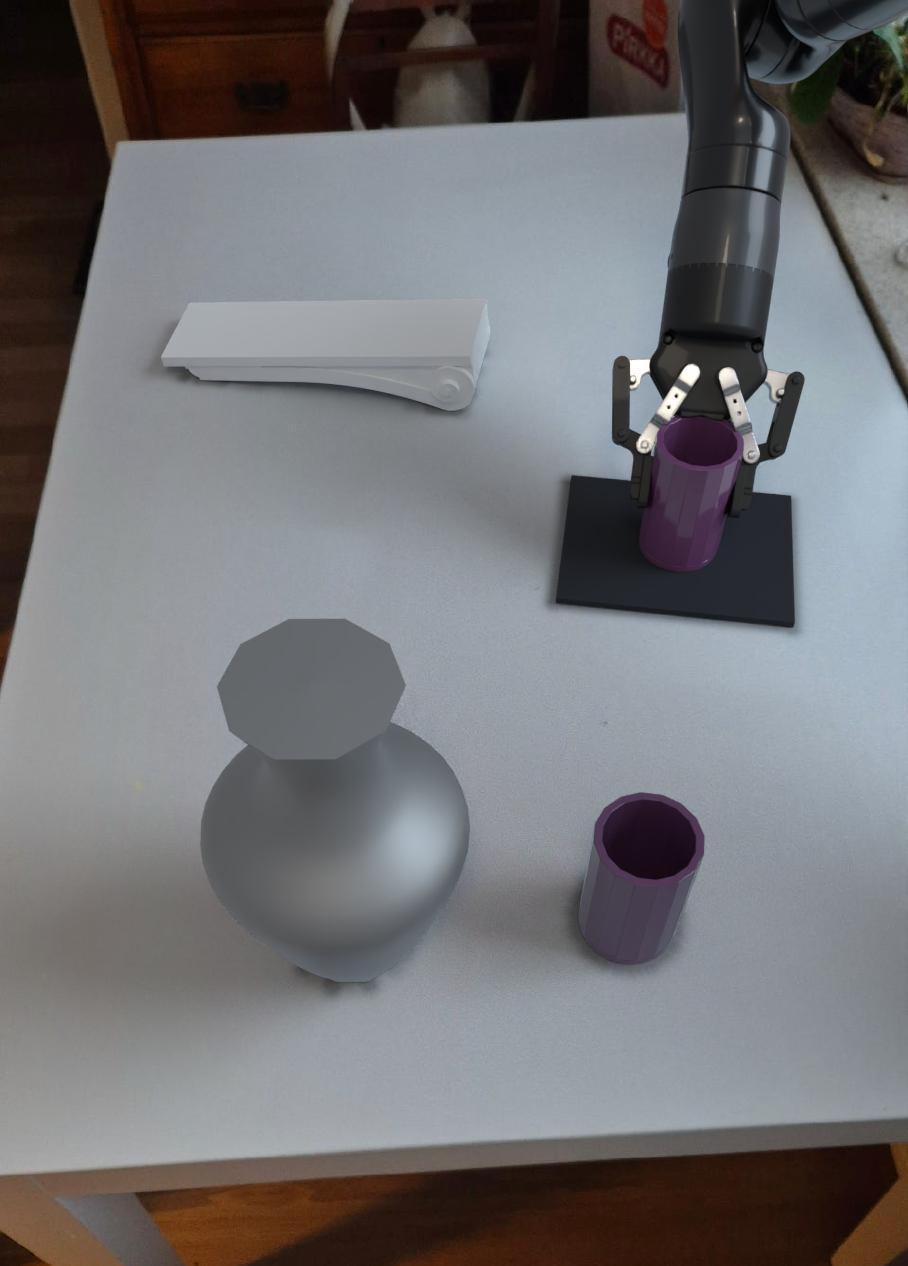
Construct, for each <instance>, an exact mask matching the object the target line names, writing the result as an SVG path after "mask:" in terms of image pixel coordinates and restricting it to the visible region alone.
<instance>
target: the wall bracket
mask: <svg viewBox="0 0 908 1266" xmlns="http://www.w3.org/2000/svg"><path fill="white" fill-rule="evenodd" d="M488 307H489V306H488V299H487V298H486V297H485V298H484V297H483V298H423V299H422V298H421V299H420V298H419V299H417V298H414V299H413V298H412V299H411V298H410V299H359V300H358V299H357V300H356V299H350V300H348V299H345V300H343V299H342V300H284V301H278V300H277V301H275V300H274V301H273V300H272V301H223V302H222V301H218V302H217V301H215V302H214V301H212V302H209V301H207V302H189V303H188V305H187V307H186V308H185V310H184V312H183V314H182V316H181V318H180V320H179V322H178V324H177V325H176V327H175V329H174V331H173V333H172V334H171V336H170V338H169V341H168V342H167V344H166V346H165V348H164V350H163V352H162V354H161V356H160V359H161V363H162V365H163V367H184V368H185V369H186V370H188V371H189V372H190V373H191V374H192V375H193V376H195V377H197V378H198V379H199V380H200V381H228V382H229V381H230V382H239V381H240V382H277V383H279V382H280V383H287V382H288V383H314V384H329V385H330V384H331V385H338V386H347V387H354V388H358V389H359V388H360V389H366V390H371V391H377V392H381V393H386V394H390V395H395V396H398V397H402V398H406V399H409V400H413V401H417V402H420V403H422V404H425V405H429V406H433V407H435V408H438V409H440V410H444V411H448V412H454V411H455V412H456V411H459V410H462V409H464V408H466V407H467V406H468V405H470V403H471V402H472V401H473V398H474V395H475V391H476V388H477V384H478V380H479V377H480V373H481V370H482V366H483V362H484V359H485V356H486V353H487V349H488V345H489V341H490V337H491V324H490V321H489V314H488V309H489V308H488Z"/></svg>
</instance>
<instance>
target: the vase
mask: <svg viewBox="0 0 908 1266" xmlns="http://www.w3.org/2000/svg"><path fill="white" fill-rule="evenodd" d="M406 687H407V684H406V682H405V679H404V677H403V674H402V672H401V669H400V667H399V663H398V661H397V659H396V657H395V653H394V651H393V649H392V647H391V644H390V643H389V642H387V641H386V640H384V639H382V638H381V637H379V636H377V635H376V634H374V633H371V632H370V631H368V630H366V629H365V628H362V627H361V626H360V625H357V624H356V623H354V622H352V621H350V620H348V619H346V618H288V619H286V620H284V621H282V622H280V623H278V624H276V625H275V626H273V627H271V628H269V629H267V630H265V631H263V632H260V633H259V634H256V635H255V636H253V637H251V638H250V639H247V640H245V641H244V642H242V643H240V644H239V646H238V648H237V649H236V651H235V653H234V655H233V656H232V658H231V660H230V662H229V664H228V666H227V667H226V669H225V671H224V673H223V675H222V676H221V678H220V680H219V682H218V683H217V686H216V688H217V689H216V690H217V692H218V696H219V699H220V704H221V706H222V707H221V708H222V711H223V713H224V714H223V715H224V719H225V721H226V725H227V728H228V732H229V733H231V734H232V735H234V736H235V737H236V738H238V739H239V740H240V741H242V742H243V743H244V744H246V746H245V747H244V748H242V749H240V751H239V752H237V753H236V755H234V757H232V759H231V760H230V761H229V762H228V764H227V765H226V766H225V767H224V769H222V771H221V772H220V775H218V777H217V779H216V780H215V782H214V784H213V785H212V787H211V789H210V791H209V794H208V797H207V799H206V800H205V803H204V808H203V812H202V816H201V819H200V837H199V839H200V840H199V848H200V853H201V861H202V862H201V863H202V865H203V868H204V871H205V875H206V876H207V880H208V883H209V885H210V888H211V889H212V890H213V892H214V894H215V896H216V898H217V899H218V902H219V903H220V904H221V906H222V907H223V908H224V910H226V911H227V913H229V915H230V916H231V918H233V919H234V921H236V923H237V924H238V925H239V926H240V927H242V928H243V929H244V930H245V931H246V932H248V933H249V934H250V935H251V936H253V938H255V939H256V940H257V941H259V942H260V943H261V944H263V945H264V946H265V947H267V948H269V949H270V950H271V951H273V952H274V953H276V954H277V955H279V956H280V957H282V958H283V959H284V960H287V961H288V962H290V963H291V964H293V965H295V966H297V967H298V968H301V970H304V971H306V972H308V973H311V974H313V975H315V976H318V977H320V978H323V979H328V980H331V981H332V982H334V983H370V982H371V981H373V980H374V979H376V978H377V977H379V976H380V975H382V974H383V973H385V972H387V971H389V970H391V968H393V967H394V966H396V965H397V964H398V963H399V962H401V961H402V960H403V959H405V957H406V956H407V955H408V954H410V952H411V951H412V950H413V949H414V948H415V947H417V945H418V944H419V943H420V942H421V940H422V939H423V938H424V937H425V935H426V934H427V932H428V930H429V929H430V927H431V926H432V925H433V923H434V922H435V921H436V919H437V918H438V916H439V915H440V913H441V911H442V910H443V908H444V907H445V906H446V904H447V903H448V901H449V900H450V898H451V896H452V895H453V892H454V890H455V888H456V886H457V884H458V882H459V880H460V877H461V875H462V873H463V870H464V867H465V863H466V860H467V855H468V852H469V844H470V831H471V823H470V813H469V807H468V803H467V799H466V797H465V793H464V790H463V788H462V785H461V783H460V781H459V779H458V778H457V775H456V774H455V772H454V770H453V769H452V767H451V766H450V764H449V763H448V761H446V759H445V757H444V756H443V755H442V754H441V753H440V752H439V751H438V750H436V749H435V748H434V747H433V746H432V745H431V744H430V743H428V742H427V741H426V740H424V739H423V738H421V737H420V736H418V734H416V733H414V732H413V731H411V730H409V729H407V728H405V727H404V726H401V725H399V724H397V723H395V722H392V718H393V716H394V714H395V712H396V710H397V707H398V705H399V703H400V701H401V698H402V696H403V693H404V692H405V689H406Z"/></svg>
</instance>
